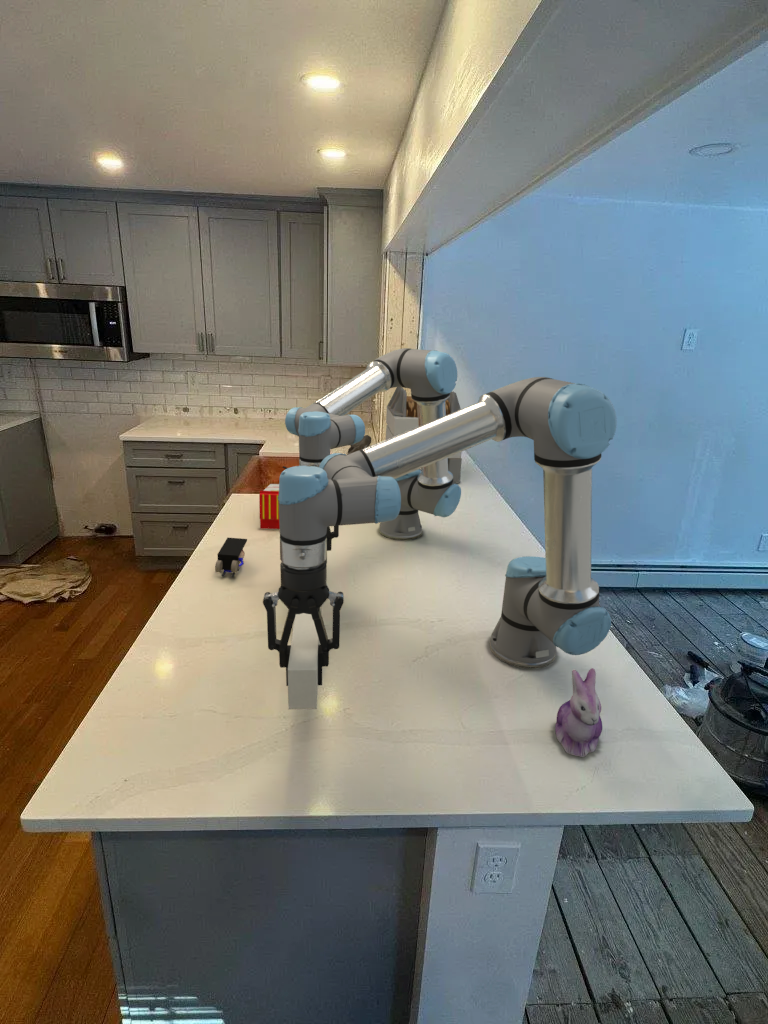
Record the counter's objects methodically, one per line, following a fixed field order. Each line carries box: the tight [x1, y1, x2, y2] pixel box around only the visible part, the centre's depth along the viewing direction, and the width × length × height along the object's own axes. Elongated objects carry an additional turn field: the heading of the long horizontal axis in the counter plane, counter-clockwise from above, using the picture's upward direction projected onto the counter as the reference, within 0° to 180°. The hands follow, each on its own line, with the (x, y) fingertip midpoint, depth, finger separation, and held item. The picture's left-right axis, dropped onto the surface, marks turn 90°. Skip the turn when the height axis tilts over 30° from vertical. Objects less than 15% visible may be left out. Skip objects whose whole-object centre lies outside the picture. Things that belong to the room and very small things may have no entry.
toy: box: [258, 483, 280, 530], centre depth 210 cm, size 12×13×30 cm
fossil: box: [347, 434, 372, 455], centre depth 303 cm, size 22×10×15 cm
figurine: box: [554, 667, 603, 758], centre depth 104 cm, size 9×10×15 cm
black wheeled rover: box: [214, 537, 248, 578], centre depth 166 cm, size 7×8×15 cm
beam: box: [287, 605, 323, 710], centre depth 123 cm, size 64×5×8 cm, turn 5°
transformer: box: [384, 387, 463, 484], centre depth 268 cm, size 34×33×41 cm
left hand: (314, 561), depth 148 cm, fingers closed on beam, 5 cm apart
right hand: (304, 680), depth 100 cm, fingers closed on beam, 5 cm apart
